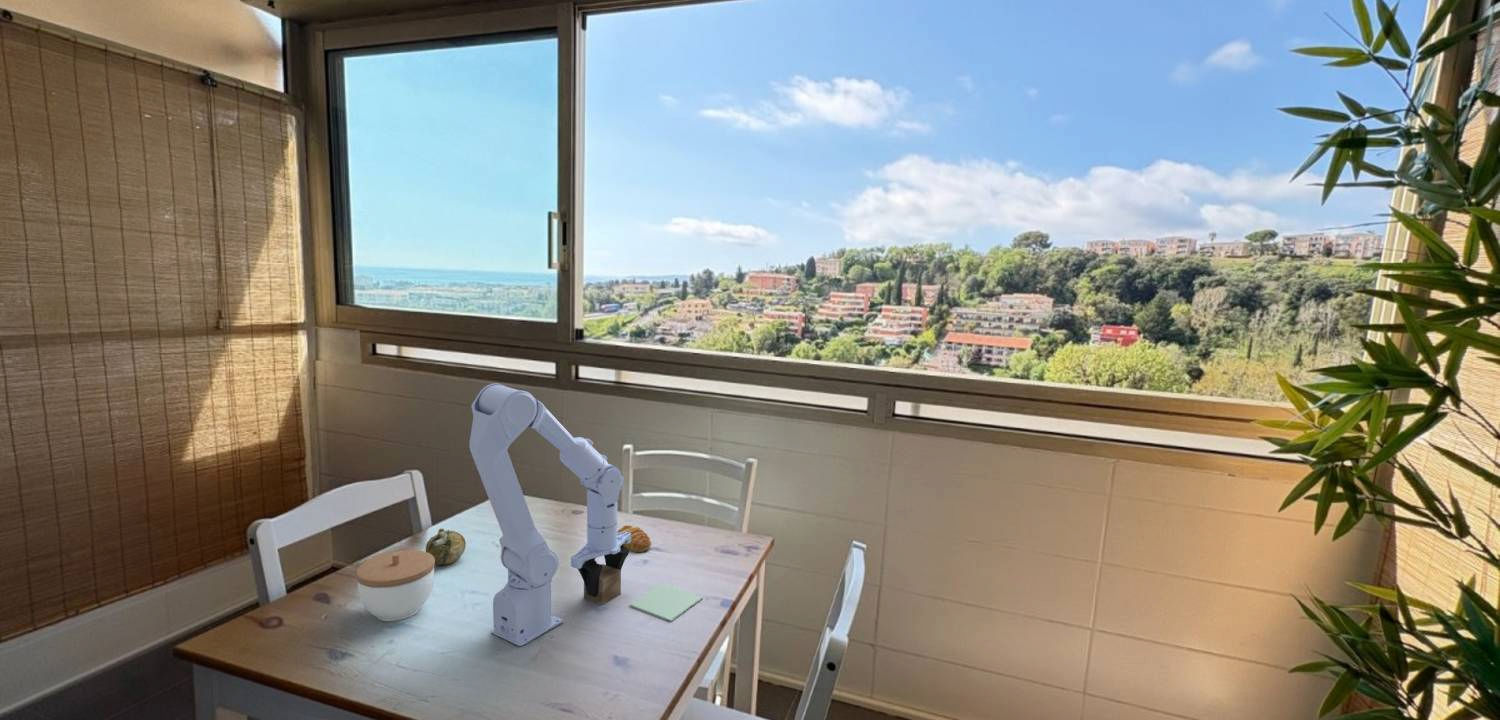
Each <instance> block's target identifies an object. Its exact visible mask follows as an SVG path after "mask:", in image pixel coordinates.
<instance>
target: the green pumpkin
mask: <svg viewBox="0 0 1500 720" xmlns="http://www.w3.org/2000/svg"><path fill="white" fill-rule="evenodd" d="M437 531H438V532H437V534H435V535H433V536H431V537H430V538H429V540H428V541H427V542H426V544H425V552H428V553H430V554H431V555H433V557H434V559H435V565H438V566H445V565H450V564H453V563H454V562H455V563H456V561H458V560H459V559H460V558H461V557H462V555H463V554H464V553H465V550H466V547H467V546H466V539H465V537H464V536H463V535H462V534H461V533H459V532H458V531H455V530H452V529H451V530H449V529H447V530H445V529H444V528H439V529H438V530H437Z"/></svg>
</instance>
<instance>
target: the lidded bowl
mask: <svg viewBox="0 0 1500 720" xmlns="http://www.w3.org/2000/svg"><path fill="white" fill-rule="evenodd" d="M435 565H436V564H435V559H434V557H433V555H431V554H430V553H428V552H426V551H424V550H419V549H418V550H417V549H416V550H415V549H409V550H407V549H406V550H398V551H392V552H388V553H383V554H380V555H377V556H375V557H372V558H369V559H368V560H367V561H364V562H363V563H361V564H360V565H359V567H358V568H357V569H356V571H355V575H356V576H355V577H356V581H357V591H358V595H359V599H360V602H361V604H362V605H363V607H364V609H365V610H366V611H367V612H368V613H370V615H373V616H374V617H376V618H377V619H378V620H379V621H382V622H397V621H401V620H405V619H408V618H410V617H412V616H414V615H416V614H417V613H418V612H419V611H420V610H421V607H422V606H423V605H424V604H425V603H426V602H427V600H428V599H429V597H430V595H431V593H432V590H433V588H434V583H435Z"/></svg>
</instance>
